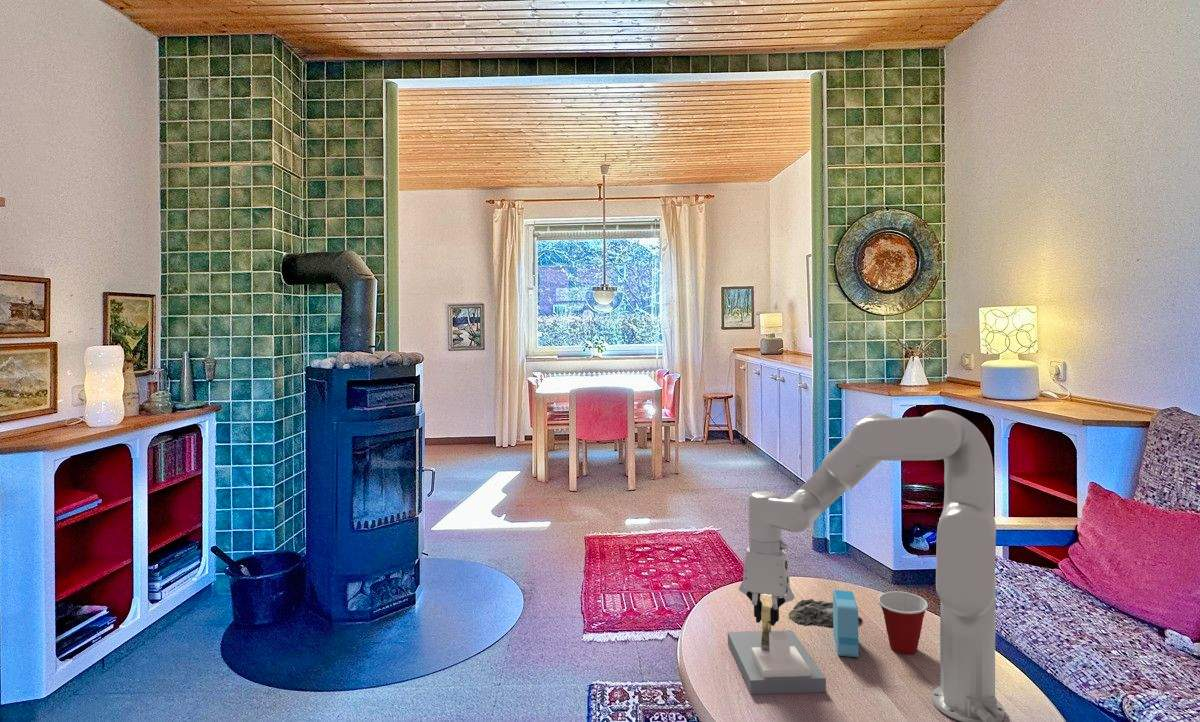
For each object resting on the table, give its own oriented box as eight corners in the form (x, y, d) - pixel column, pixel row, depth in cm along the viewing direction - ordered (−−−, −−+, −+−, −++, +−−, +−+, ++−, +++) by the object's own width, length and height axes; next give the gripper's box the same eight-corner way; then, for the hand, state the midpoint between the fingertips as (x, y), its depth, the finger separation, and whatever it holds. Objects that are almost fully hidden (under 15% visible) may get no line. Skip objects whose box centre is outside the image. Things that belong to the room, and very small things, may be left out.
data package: (858, 660, 145) (858, 609, 144) (838, 658, 146) (837, 607, 146) (852, 636, 156) (851, 589, 156) (833, 634, 158) (832, 587, 157)
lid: (810, 676, 133) (809, 646, 133) (763, 677, 133) (763, 647, 133) (794, 652, 143) (794, 624, 143) (751, 653, 143) (750, 626, 143)
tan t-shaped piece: (770, 656, 141) (769, 618, 141) (761, 655, 141) (760, 617, 141) (771, 634, 151) (771, 599, 151) (763, 633, 152) (762, 598, 152)
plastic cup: (869, 647, 151) (868, 598, 150) (892, 634, 157) (892, 587, 157) (914, 665, 142) (913, 613, 141) (936, 650, 148) (936, 601, 148)
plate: (825, 692, 132) (825, 678, 132) (750, 694, 132) (750, 680, 132) (792, 642, 154) (792, 630, 154) (727, 643, 154) (727, 631, 154)
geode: (783, 603, 178) (791, 627, 163) (782, 590, 178) (791, 612, 163) (852, 606, 175) (867, 631, 160) (852, 593, 175) (867, 616, 160)
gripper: (804, 545, 146) (805, 622, 147) (737, 535, 154) (738, 609, 155) (797, 555, 140) (797, 636, 140) (726, 544, 148) (728, 621, 149)
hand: (766, 621), depth 148 cm, fingers closed on tan t-shaped piece, 2 cm apart
